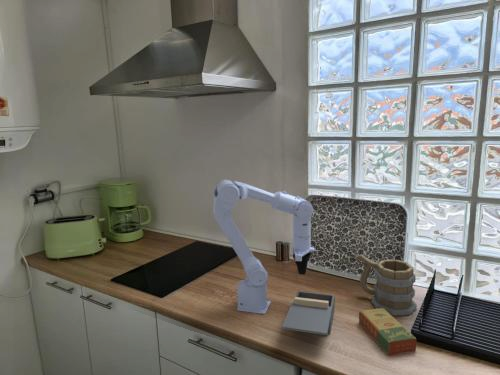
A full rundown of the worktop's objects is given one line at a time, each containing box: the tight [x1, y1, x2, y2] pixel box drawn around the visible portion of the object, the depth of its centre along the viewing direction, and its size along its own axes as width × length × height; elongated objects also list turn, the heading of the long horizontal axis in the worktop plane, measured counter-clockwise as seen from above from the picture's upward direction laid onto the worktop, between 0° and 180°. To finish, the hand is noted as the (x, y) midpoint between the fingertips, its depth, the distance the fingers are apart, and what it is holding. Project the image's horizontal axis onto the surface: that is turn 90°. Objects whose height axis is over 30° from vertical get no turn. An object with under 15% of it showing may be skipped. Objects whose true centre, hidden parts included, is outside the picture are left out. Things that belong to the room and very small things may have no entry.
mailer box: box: [292, 290, 336, 335], centre depth 110 cm, size 12×14×5 cm
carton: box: [358, 308, 417, 356], centre depth 100 cm, size 8×16×4 cm, turn 11°
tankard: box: [354, 253, 417, 317], centre depth 118 cm, size 20×13×15 cm, turn 45°
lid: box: [281, 296, 332, 336], centre depth 101 cm, size 12×14×2 cm
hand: (302, 273), depth 120 cm, fingers closed
